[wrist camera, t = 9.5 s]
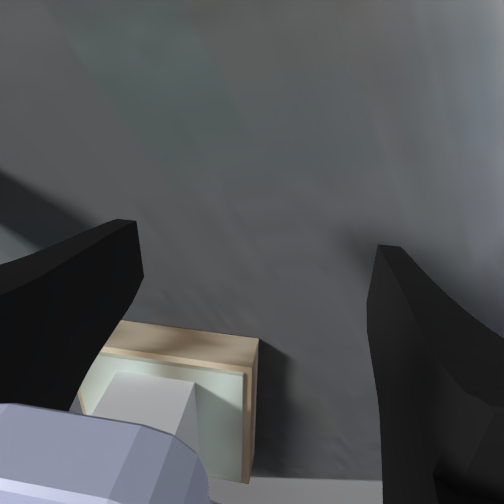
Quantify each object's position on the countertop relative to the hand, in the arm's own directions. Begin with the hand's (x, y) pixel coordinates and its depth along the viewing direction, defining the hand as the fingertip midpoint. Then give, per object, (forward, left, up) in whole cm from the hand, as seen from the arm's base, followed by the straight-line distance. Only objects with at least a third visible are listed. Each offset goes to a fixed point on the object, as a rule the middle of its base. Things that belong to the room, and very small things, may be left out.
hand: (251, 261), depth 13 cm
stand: (+7, +18, -9) cm, 21 cm away
